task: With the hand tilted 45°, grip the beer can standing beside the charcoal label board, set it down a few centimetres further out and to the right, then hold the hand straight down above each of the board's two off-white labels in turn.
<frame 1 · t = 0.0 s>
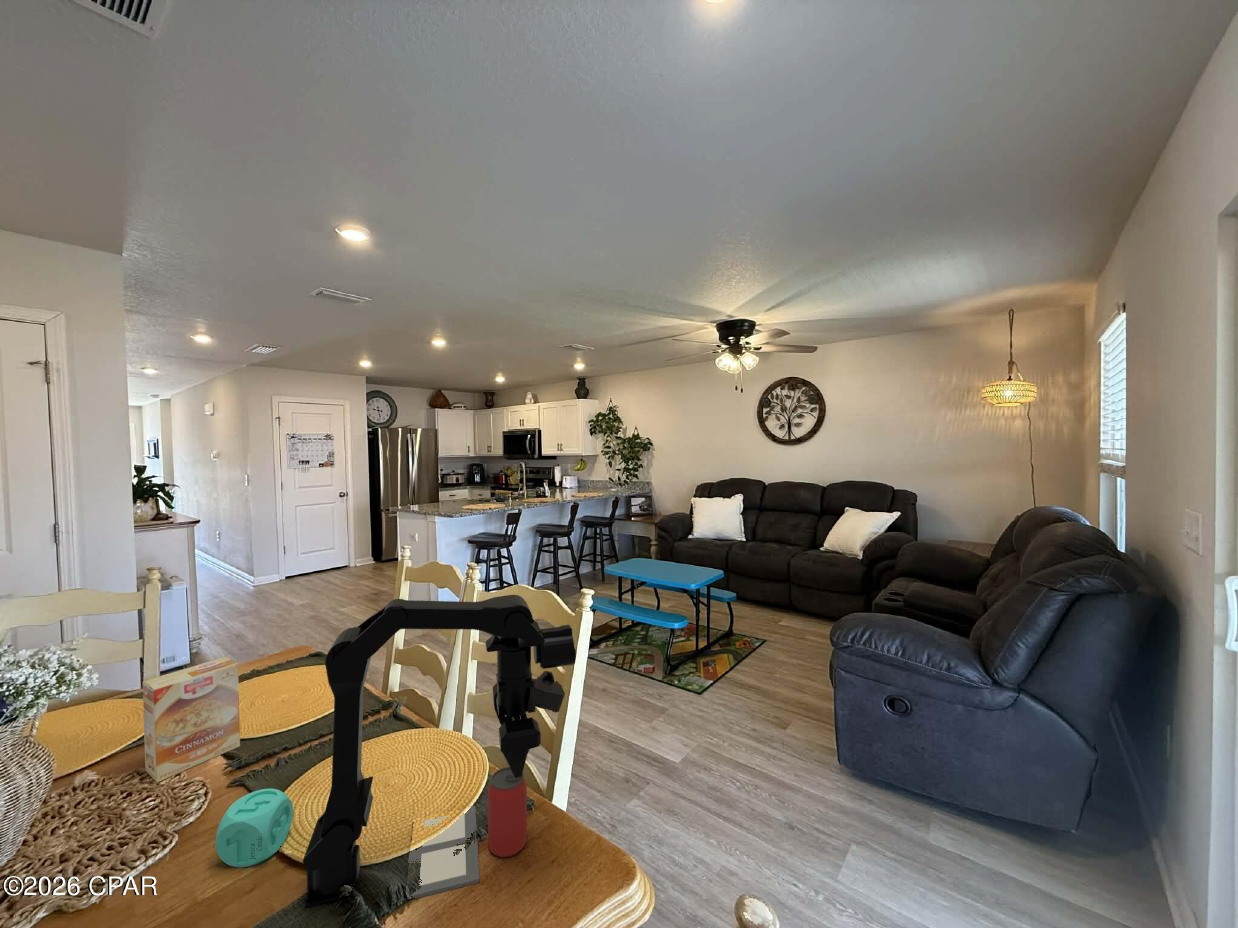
hand: (514, 759, 88), 15 cm above the table, tool pointing down, fingers open, 9 cm apart
label board: (443, 849, 87), on the table
coffeecake box: (195, 759, 112), on the table
decorative dice: (256, 849, 87), on the table
beer can: (507, 844, 88), on the table
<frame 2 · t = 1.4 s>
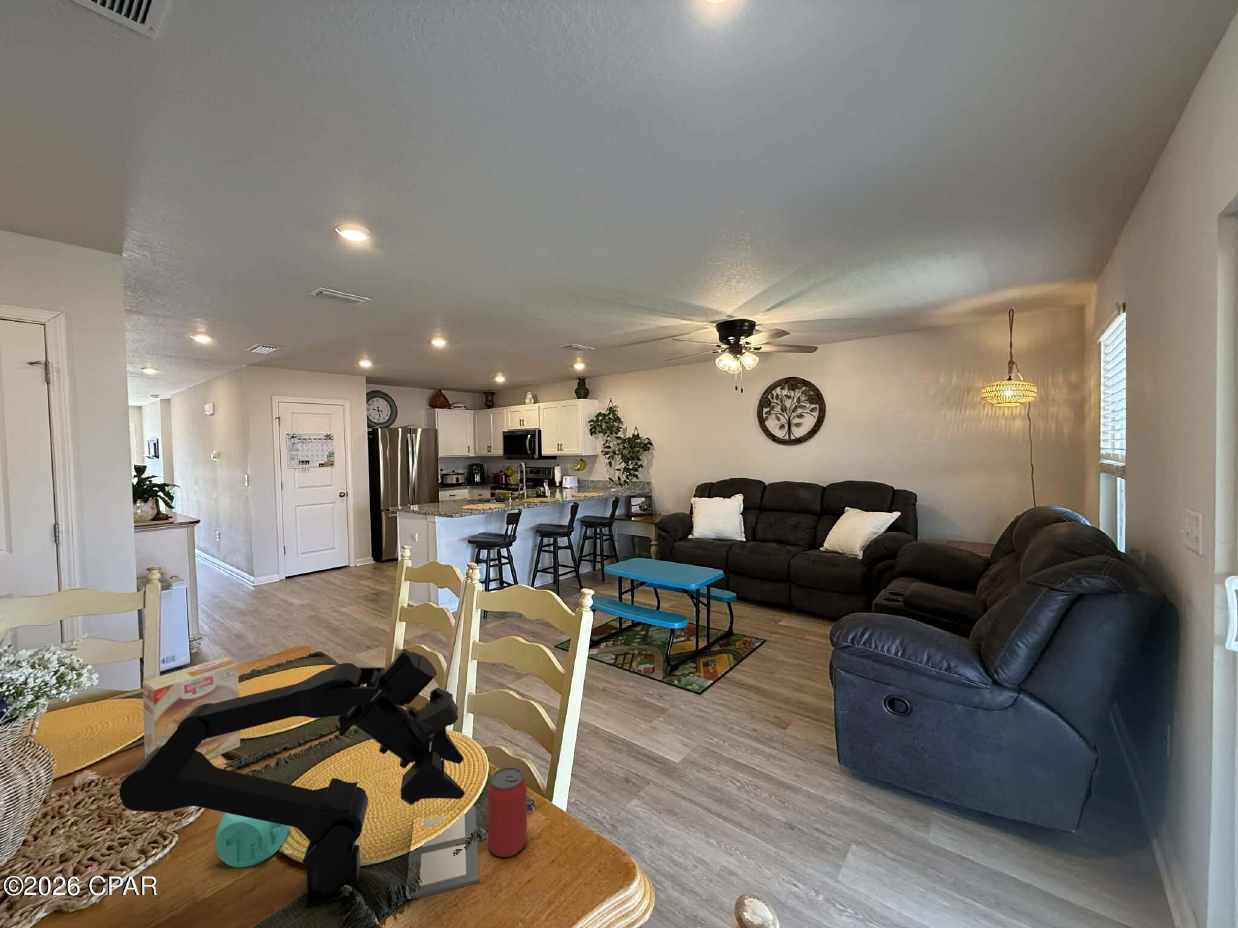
hand: (462, 777, 85), 13 cm above the table, tool tilted 45°, fingers open, 9 cm apart
nothing on the table moved.
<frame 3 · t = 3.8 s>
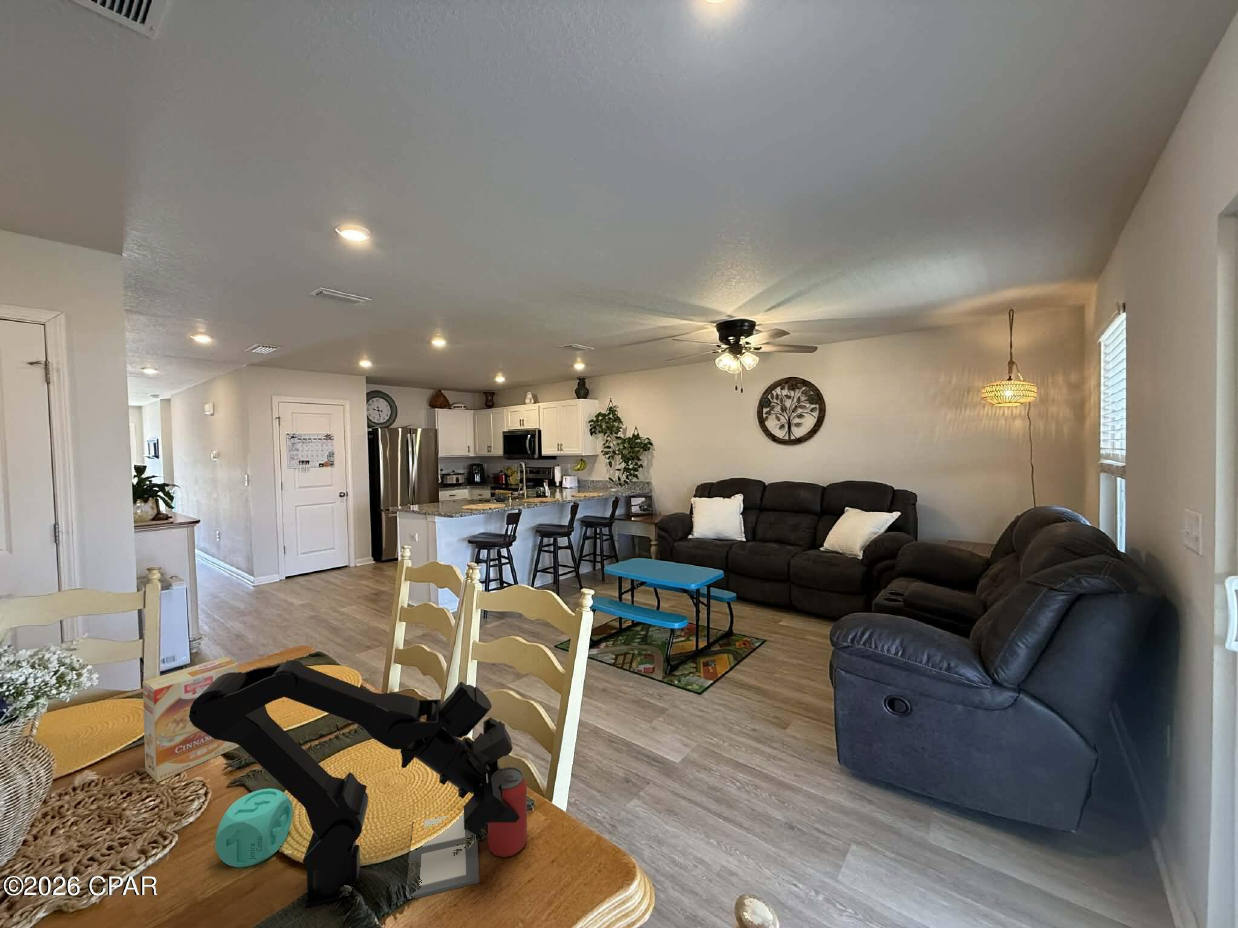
hand: (515, 804, 88), 7 cm above the table, tool tilted 45°, fingers closed on beer can, 6 cm apart
beer can: (507, 844, 88), on the table, touching gripper
everything else where it was.
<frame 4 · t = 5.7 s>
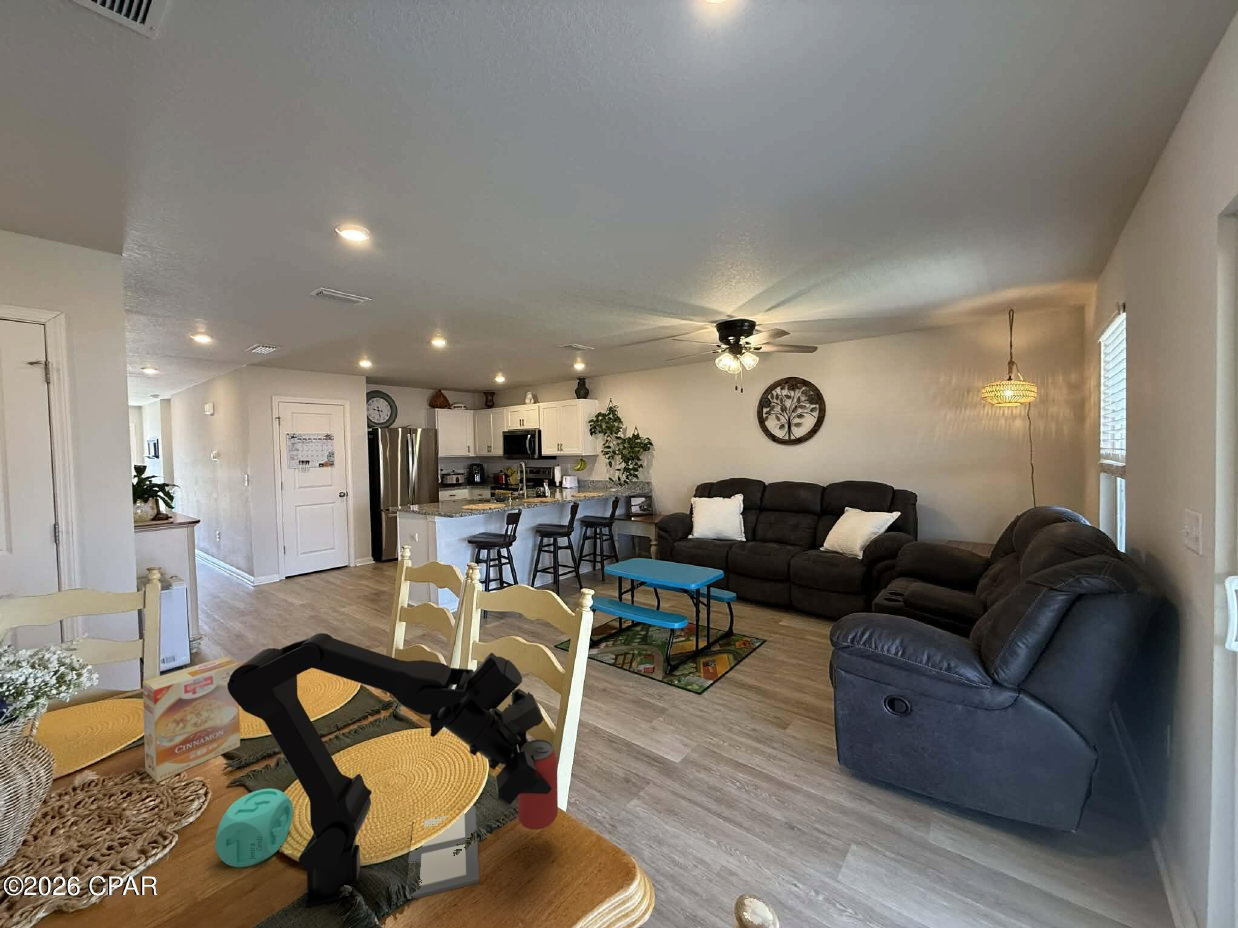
hand: (546, 777, 86), 13 cm above the table, tool tilted 45°, fingers closed on beer can, 6 cm apart
beer can: (538, 818, 86), point 6 cm above the table, touching gripper
everything else where it was.
when the fingers open (8 cm above the table, at t = 7.4 s): beer can drops 1 cm, on the table.
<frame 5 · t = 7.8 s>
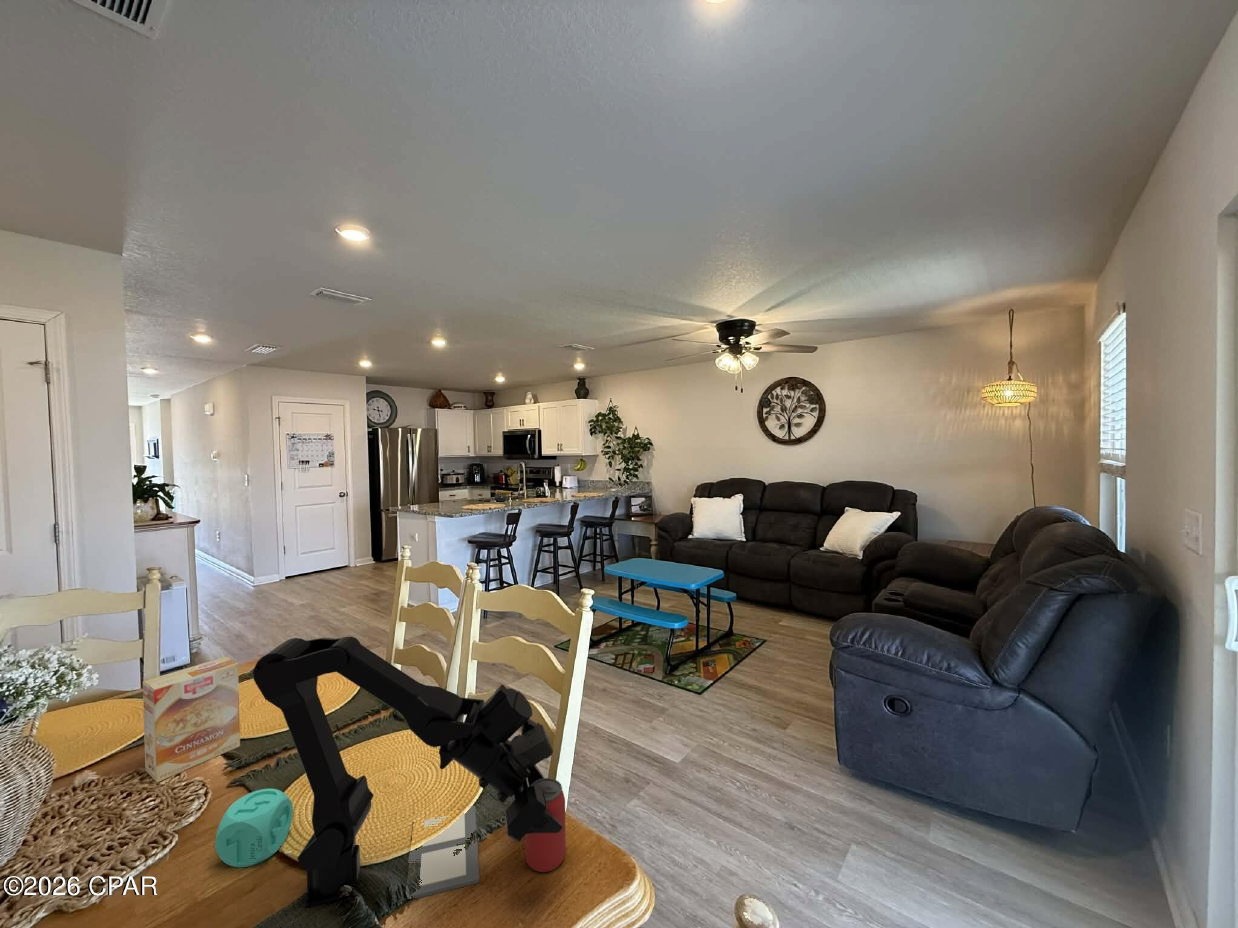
hand: (555, 809, 85), 8 cm above the table, tool tilted 45°, fingers open, 9 cm apart
beer can: (545, 858, 85), on the table
everything else where it was.
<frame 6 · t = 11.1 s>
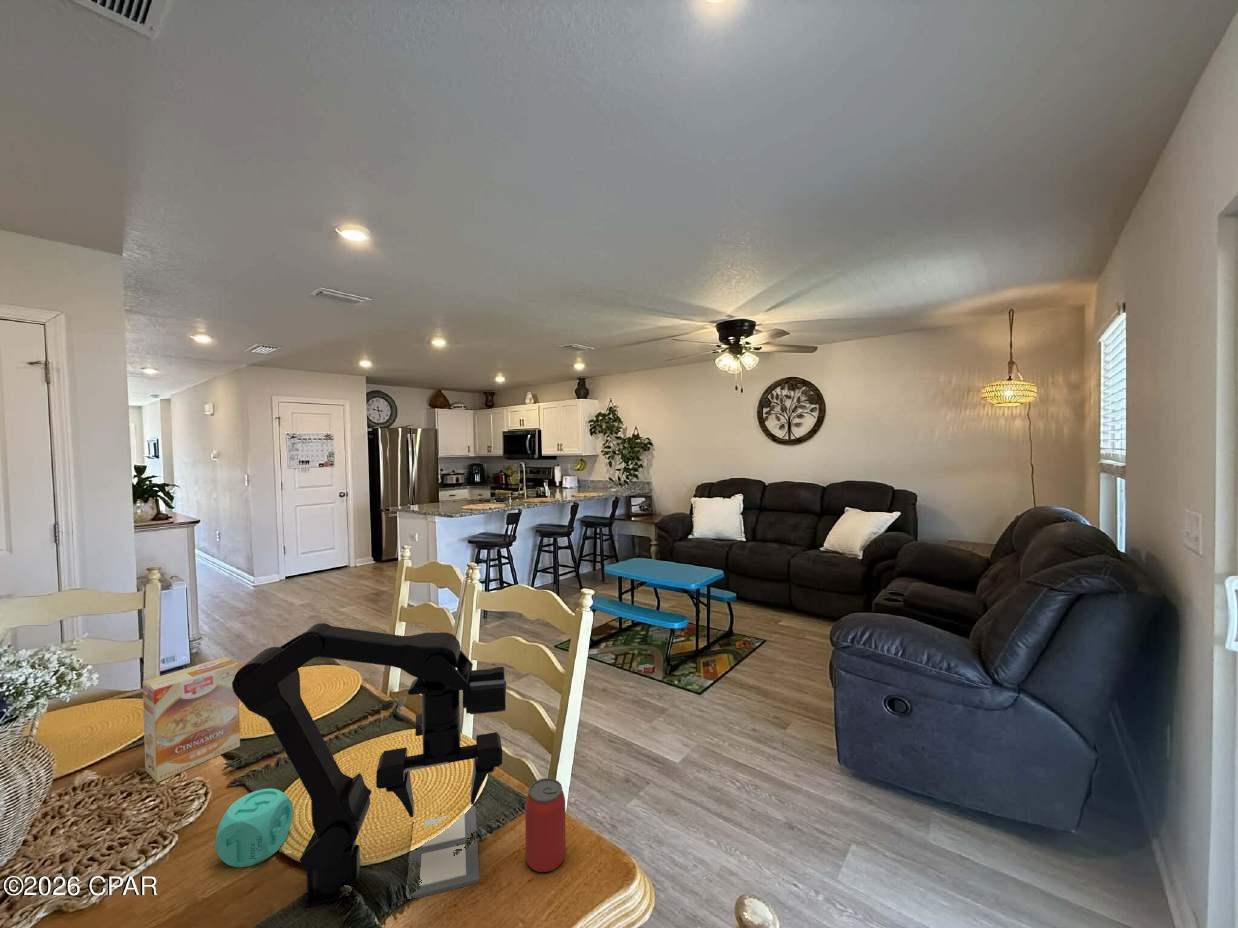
hand: (442, 808, 83), 10 cm above the table, tool pointing down, fingers open, 9 cm apart
nothing on the table moved.
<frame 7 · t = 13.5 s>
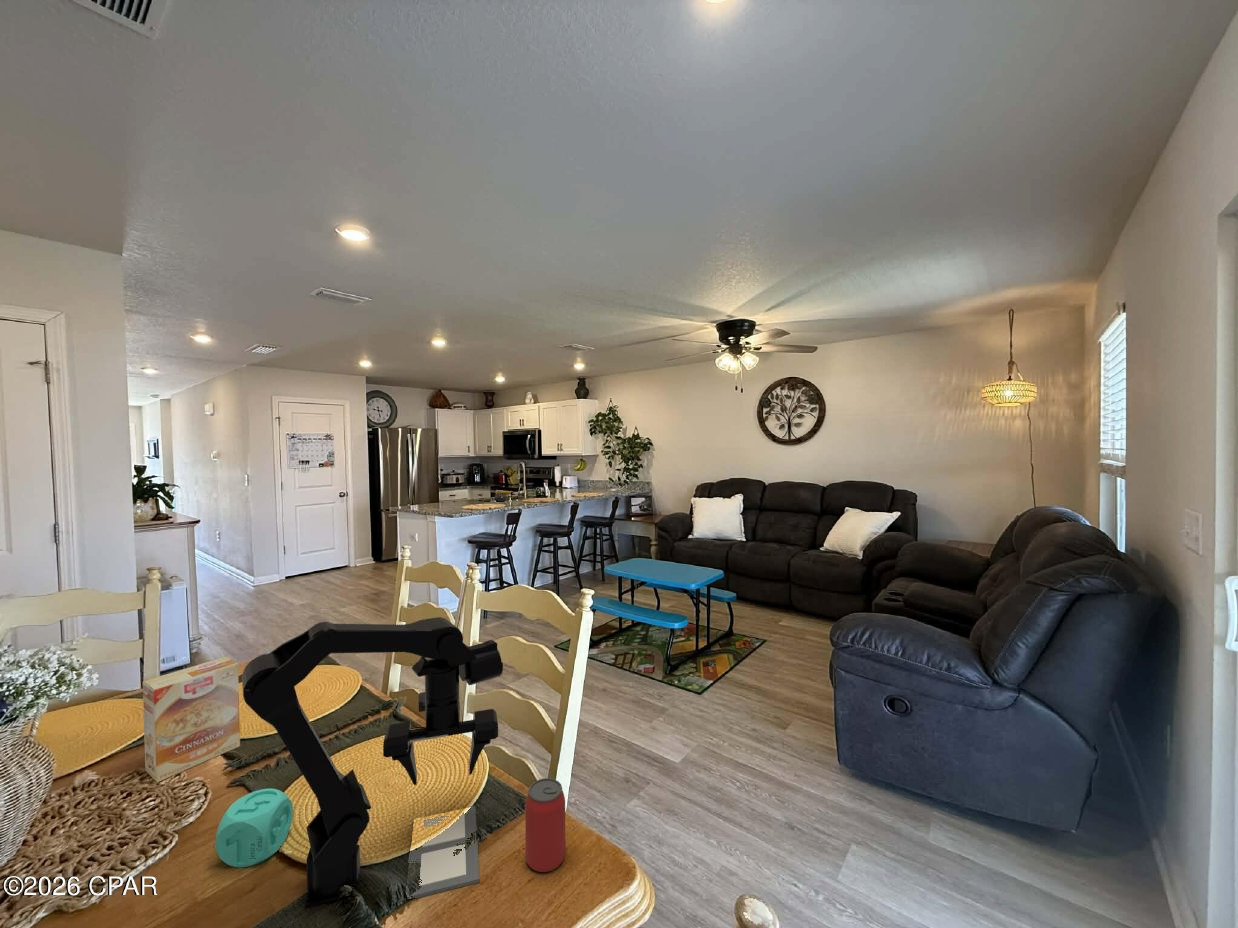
hand: (443, 778, 90), 10 cm above the table, tool pointing down, fingers open, 9 cm apart
nothing on the table moved.
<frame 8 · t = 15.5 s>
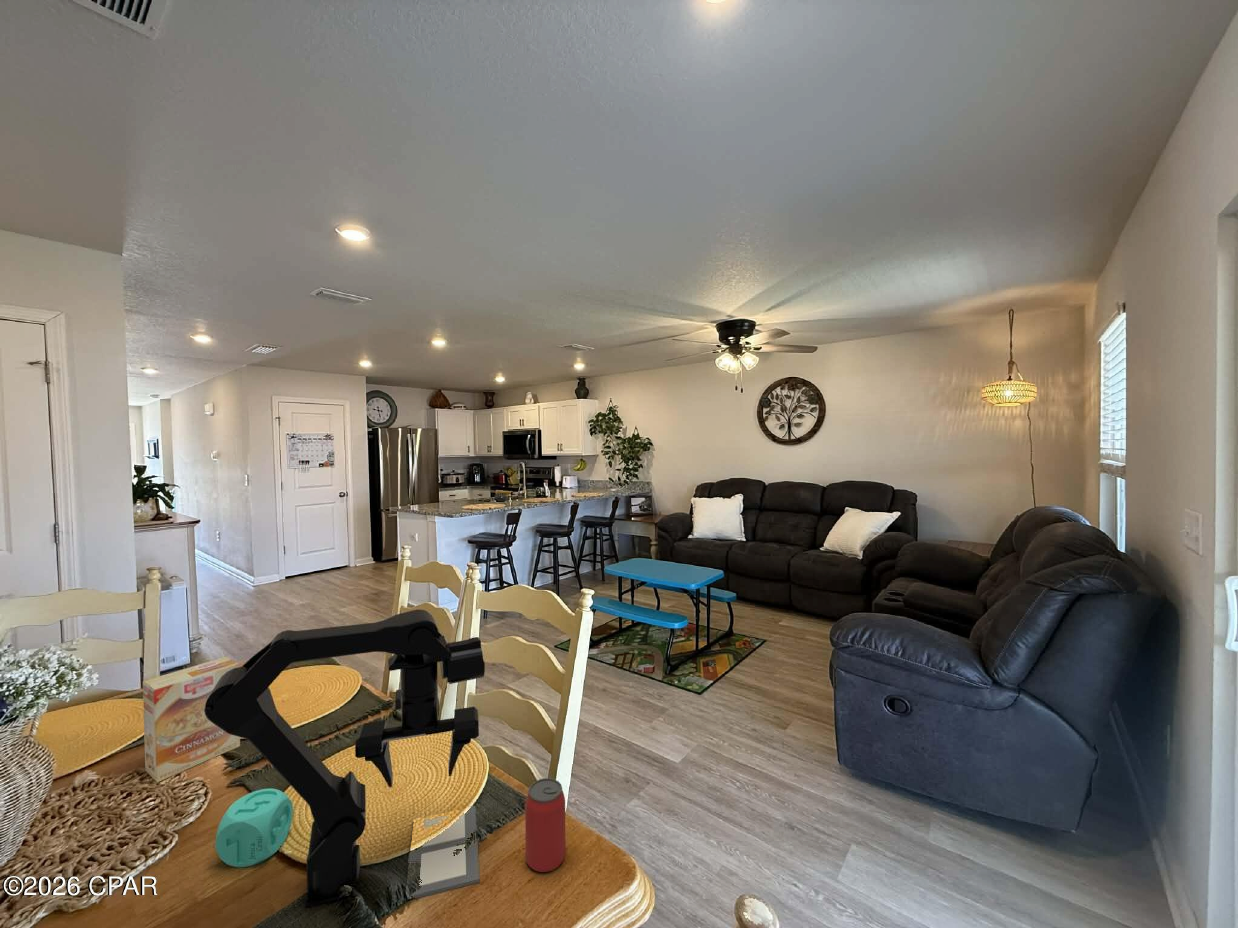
hand: (420, 779, 85), 13 cm above the table, tool pointing down, fingers open, 9 cm apart
nothing on the table moved.
at the end: beer can 0.2 cm from the target spot, on the table; beer can tilted 0°; the gripper is holding nothing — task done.
